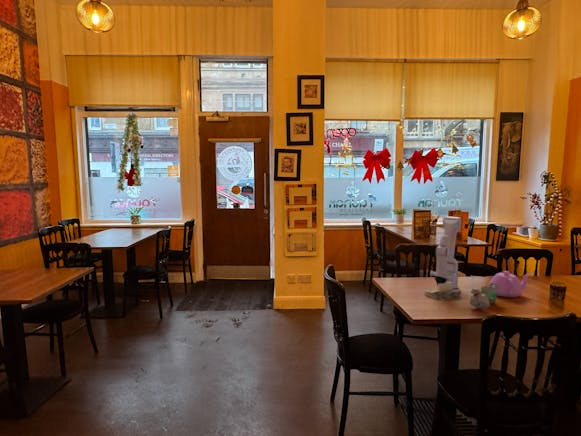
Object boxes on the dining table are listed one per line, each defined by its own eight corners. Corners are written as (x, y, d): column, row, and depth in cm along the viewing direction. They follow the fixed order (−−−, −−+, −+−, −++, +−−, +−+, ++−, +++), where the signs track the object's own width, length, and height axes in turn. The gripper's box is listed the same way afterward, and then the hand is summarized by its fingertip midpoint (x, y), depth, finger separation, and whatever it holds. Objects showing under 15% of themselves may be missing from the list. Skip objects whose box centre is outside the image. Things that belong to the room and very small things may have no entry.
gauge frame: (441, 290, 231) (441, 284, 230) (461, 297, 218) (461, 290, 217) (422, 293, 223) (422, 287, 223) (442, 301, 211) (442, 294, 210)
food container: (491, 307, 201) (493, 289, 200) (479, 304, 206) (481, 286, 205) (501, 303, 209) (503, 285, 208) (490, 300, 214) (491, 282, 212)
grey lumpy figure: (492, 314, 190) (493, 290, 191) (471, 312, 192) (472, 288, 193) (487, 311, 200) (488, 288, 200) (467, 309, 202) (468, 286, 203)
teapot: (537, 302, 211) (539, 277, 210) (494, 299, 216) (496, 275, 214) (522, 290, 233) (523, 268, 231) (483, 288, 237) (485, 266, 235)
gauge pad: (449, 293, 223) (450, 281, 222) (451, 293, 221) (452, 282, 221) (432, 296, 216) (432, 284, 216) (434, 297, 215) (435, 285, 214)
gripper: (426, 264, 225) (425, 287, 227) (447, 270, 213) (445, 294, 214) (435, 263, 229) (434, 285, 230) (455, 269, 216) (454, 292, 217)
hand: (440, 289), depth 222 cm, fingers closed
